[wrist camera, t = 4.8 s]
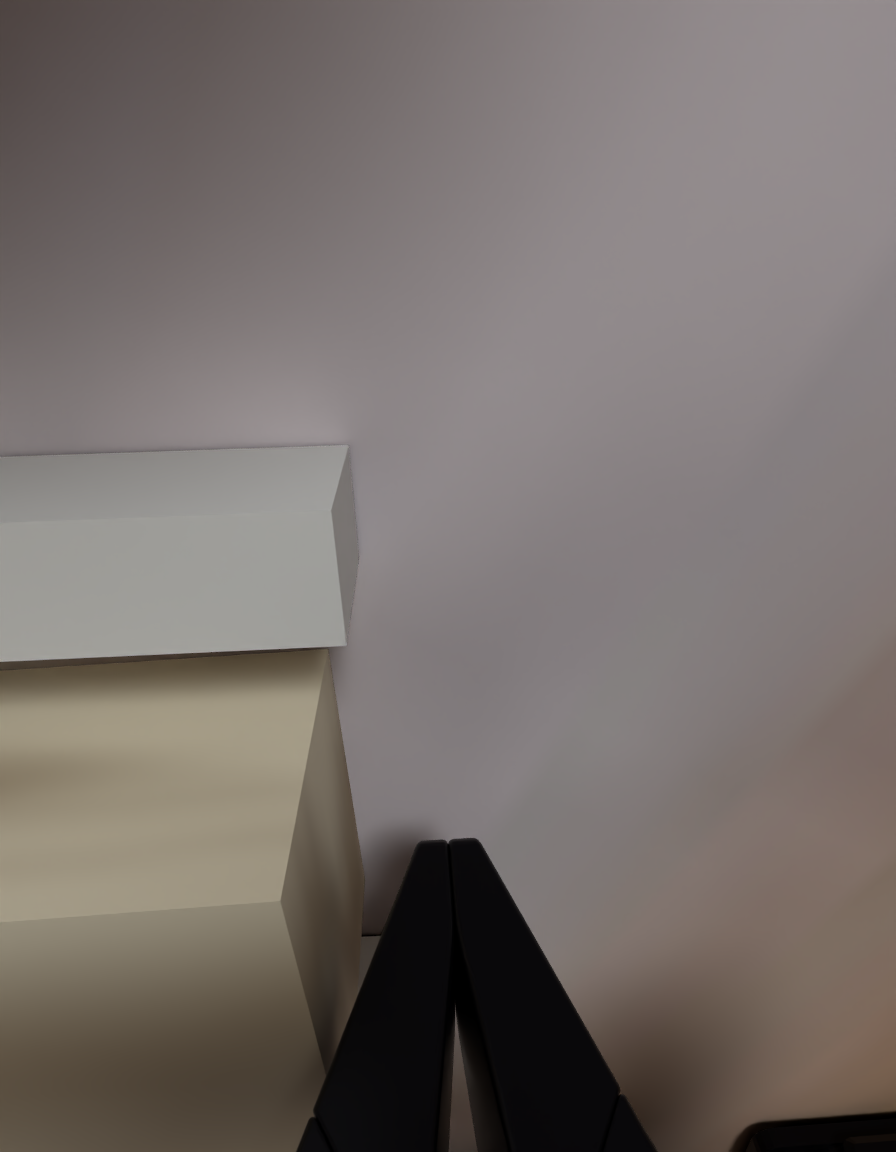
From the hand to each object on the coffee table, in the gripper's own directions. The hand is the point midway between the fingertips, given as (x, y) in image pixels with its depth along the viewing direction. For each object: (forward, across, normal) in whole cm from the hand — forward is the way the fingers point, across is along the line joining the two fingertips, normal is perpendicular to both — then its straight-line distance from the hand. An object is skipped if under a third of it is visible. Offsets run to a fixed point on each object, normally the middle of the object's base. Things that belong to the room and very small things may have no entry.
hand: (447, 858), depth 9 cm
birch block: (+2, +4, 0) cm, 4 cm away
